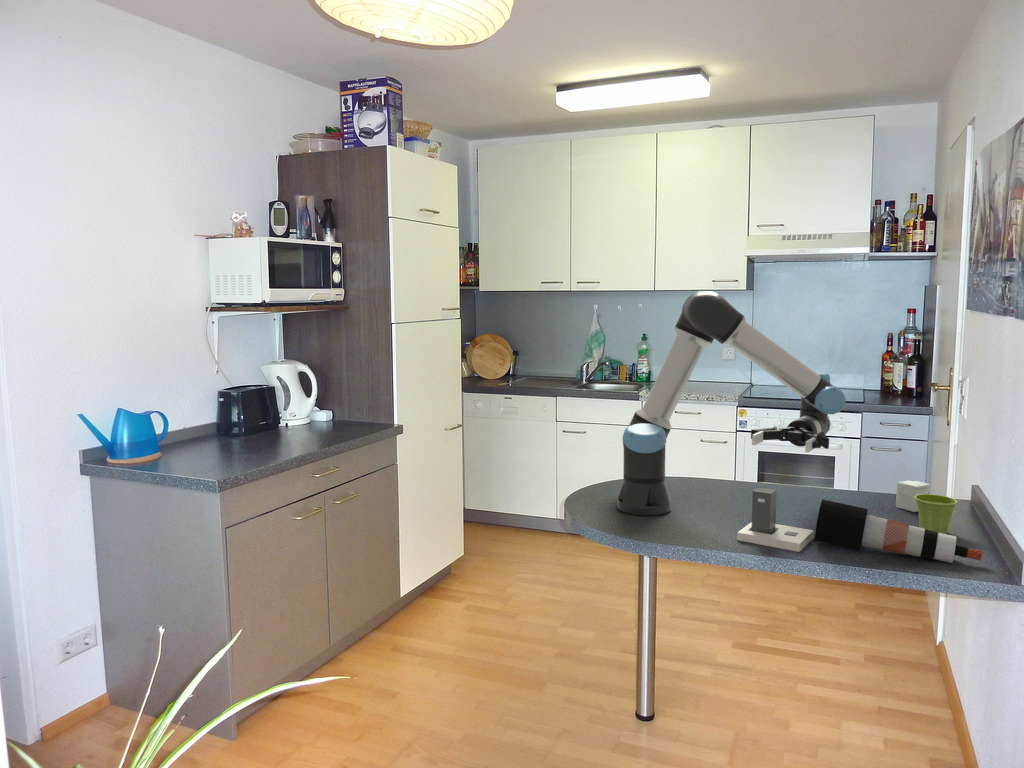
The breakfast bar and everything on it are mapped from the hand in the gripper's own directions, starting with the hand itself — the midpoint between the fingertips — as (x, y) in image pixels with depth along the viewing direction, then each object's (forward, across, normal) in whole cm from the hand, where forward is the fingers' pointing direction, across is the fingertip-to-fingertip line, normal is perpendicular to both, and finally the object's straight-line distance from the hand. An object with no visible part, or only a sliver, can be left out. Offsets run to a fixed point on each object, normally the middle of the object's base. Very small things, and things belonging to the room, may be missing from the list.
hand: (779, 443), depth 196 cm
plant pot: (-18, -34, -22) cm, 44 cm away
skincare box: (-38, -26, -22) cm, 51 cm away
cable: (+5, -29, -22) cm, 37 cm away
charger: (+10, 0, -22) cm, 24 cm away
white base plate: (+10, -3, -22) cm, 24 cm away
